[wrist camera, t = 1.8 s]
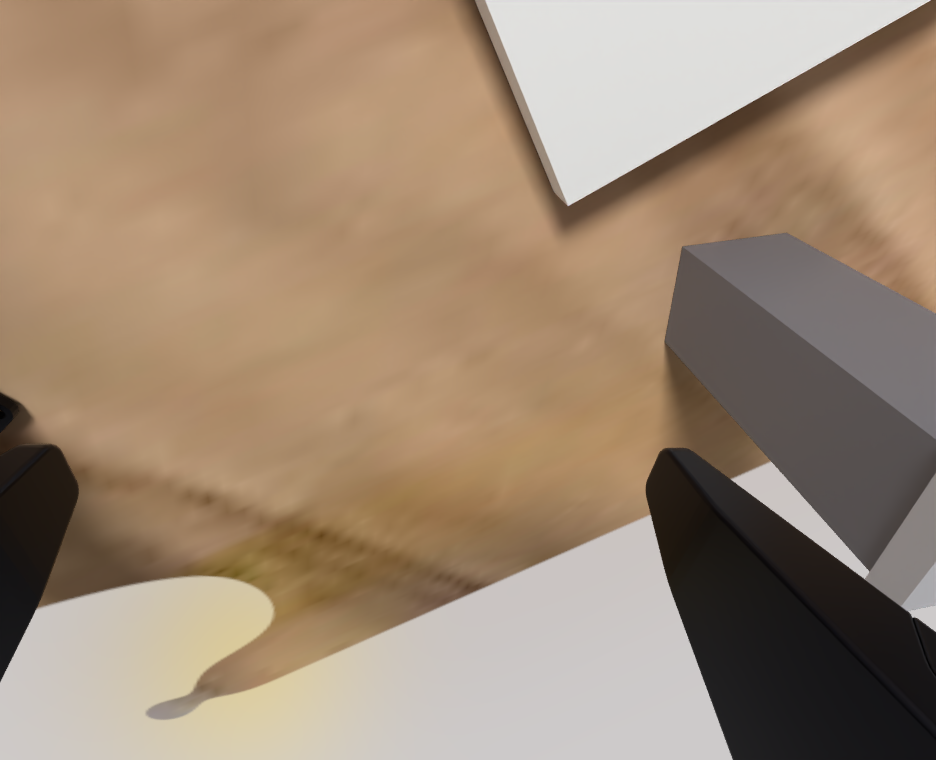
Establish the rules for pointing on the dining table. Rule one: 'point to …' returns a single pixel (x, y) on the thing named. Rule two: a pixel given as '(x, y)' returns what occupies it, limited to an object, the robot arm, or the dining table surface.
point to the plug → (824, 391)
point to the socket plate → (655, 69)
